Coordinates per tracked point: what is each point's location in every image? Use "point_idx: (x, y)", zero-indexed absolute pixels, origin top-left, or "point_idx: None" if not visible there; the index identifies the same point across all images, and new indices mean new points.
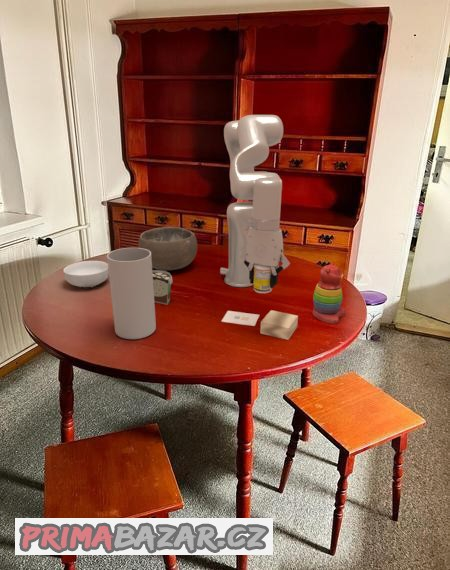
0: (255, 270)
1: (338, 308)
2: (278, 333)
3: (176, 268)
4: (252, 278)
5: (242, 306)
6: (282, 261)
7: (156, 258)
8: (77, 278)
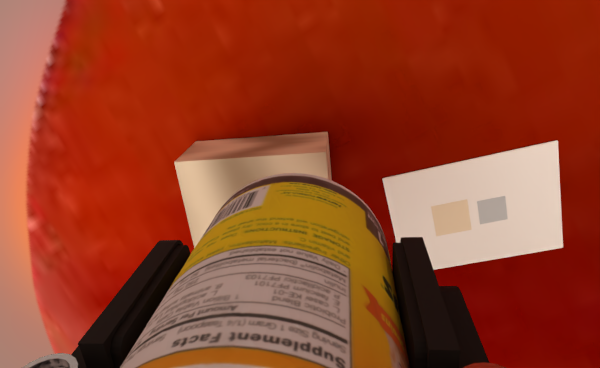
0: (346, 353)
1: None
2: (236, 145)
3: None
4: (403, 277)
5: (509, 310)
6: None
7: None
8: None
